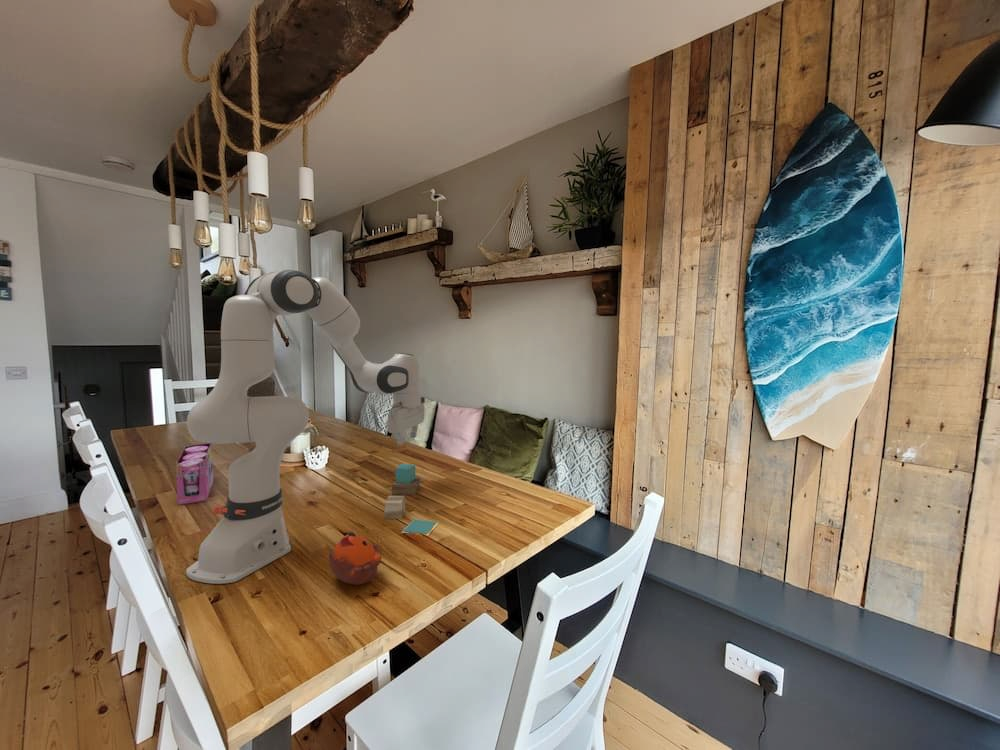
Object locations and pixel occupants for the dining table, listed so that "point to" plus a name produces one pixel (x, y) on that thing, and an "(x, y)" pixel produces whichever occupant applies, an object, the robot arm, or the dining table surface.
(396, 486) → the walnut block
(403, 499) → the maple cube
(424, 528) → the swatch tile
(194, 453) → the gum box
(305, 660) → the dining table surface
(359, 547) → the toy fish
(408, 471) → the teal cube
